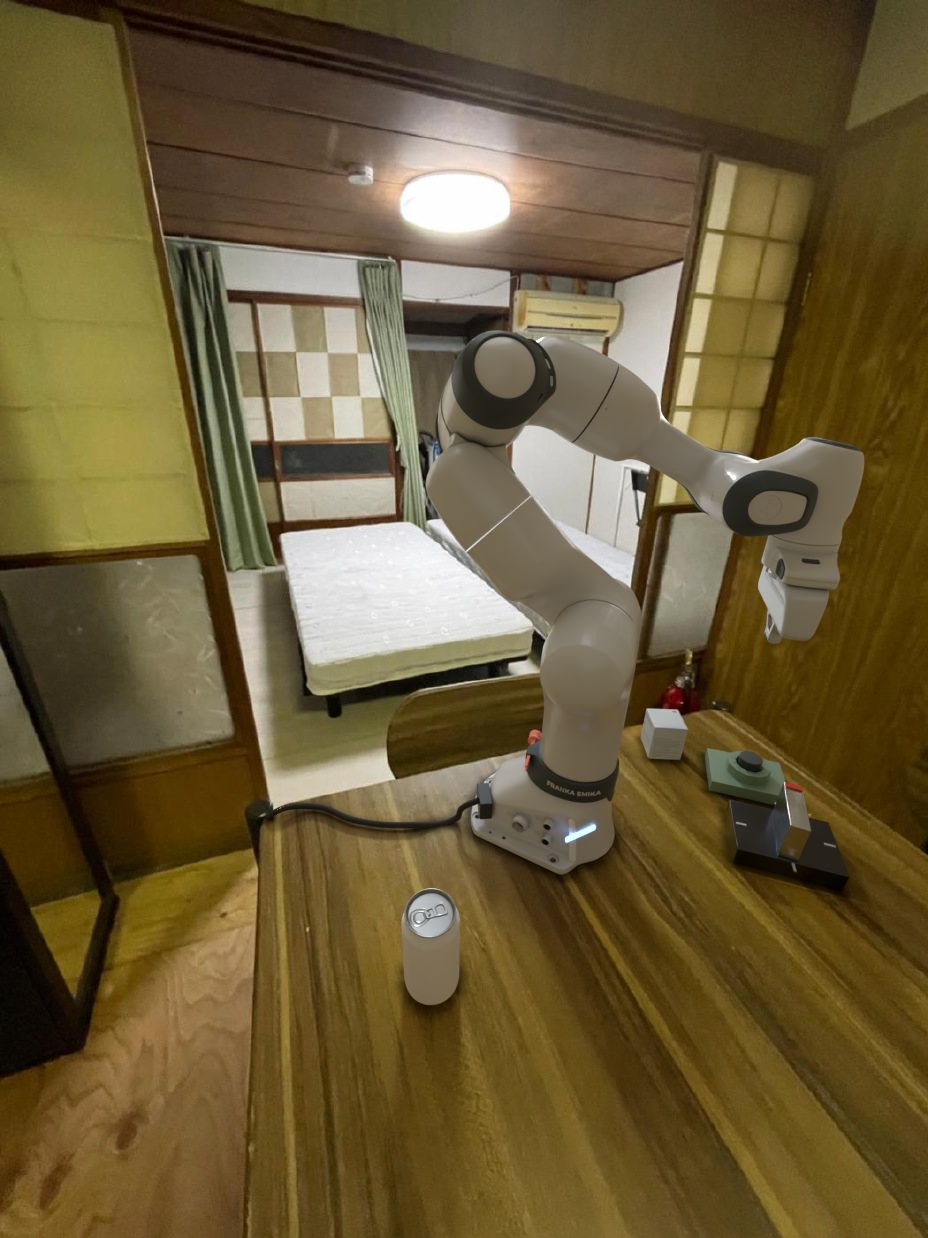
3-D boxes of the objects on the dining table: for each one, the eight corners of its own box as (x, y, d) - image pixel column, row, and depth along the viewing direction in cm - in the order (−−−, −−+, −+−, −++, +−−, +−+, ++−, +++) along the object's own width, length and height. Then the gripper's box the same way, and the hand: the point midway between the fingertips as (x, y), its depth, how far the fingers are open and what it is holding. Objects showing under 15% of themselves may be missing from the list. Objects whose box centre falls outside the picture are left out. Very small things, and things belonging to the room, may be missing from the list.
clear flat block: (798, 861, 72) (812, 830, 69) (778, 855, 73) (790, 823, 70) (790, 816, 79) (803, 785, 77) (772, 810, 80) (784, 780, 78)
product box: (639, 737, 101) (645, 707, 97) (671, 739, 100) (678, 708, 97) (647, 759, 95) (654, 727, 92) (681, 761, 95) (689, 729, 92)
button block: (709, 790, 88) (714, 772, 86) (704, 757, 96) (709, 740, 94) (787, 808, 85) (794, 790, 83) (776, 772, 93) (782, 754, 91)
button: (738, 769, 88) (741, 762, 87) (735, 756, 91) (738, 748, 90) (762, 774, 87) (764, 766, 86) (758, 761, 90) (761, 753, 89)
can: (398, 961, 62) (393, 896, 57) (448, 941, 64) (448, 877, 59) (413, 1017, 57) (410, 951, 52) (467, 994, 59) (469, 928, 54)
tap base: (734, 872, 74) (739, 856, 73) (723, 805, 85) (728, 791, 84) (846, 901, 70) (854, 886, 69) (819, 828, 81) (826, 813, 80)
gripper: (761, 534, 84) (740, 609, 90) (789, 577, 67) (760, 667, 73) (804, 538, 83) (780, 615, 89) (845, 583, 65) (810, 675, 71)
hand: (771, 639), depth 81 cm, fingers closed
